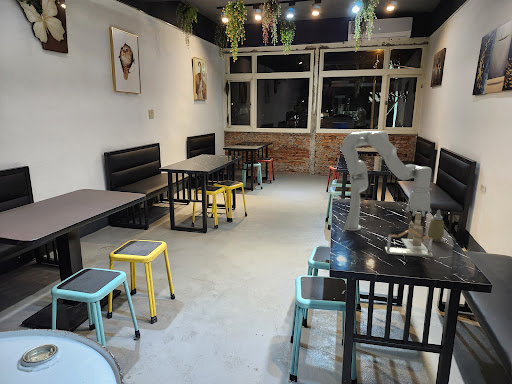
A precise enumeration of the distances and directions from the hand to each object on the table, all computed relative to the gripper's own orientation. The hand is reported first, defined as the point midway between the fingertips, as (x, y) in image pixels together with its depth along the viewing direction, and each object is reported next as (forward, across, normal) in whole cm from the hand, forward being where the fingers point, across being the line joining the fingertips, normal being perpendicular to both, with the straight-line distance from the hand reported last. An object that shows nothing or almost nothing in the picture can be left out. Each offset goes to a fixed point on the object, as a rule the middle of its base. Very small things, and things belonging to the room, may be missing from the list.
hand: (416, 222), depth 178 cm
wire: (+13, +6, +12) cm, 19 cm away
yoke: (+12, 0, 0) cm, 12 cm away
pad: (+13, 0, 0) cm, 13 cm away
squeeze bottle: (+14, -14, -10) cm, 22 cm away
